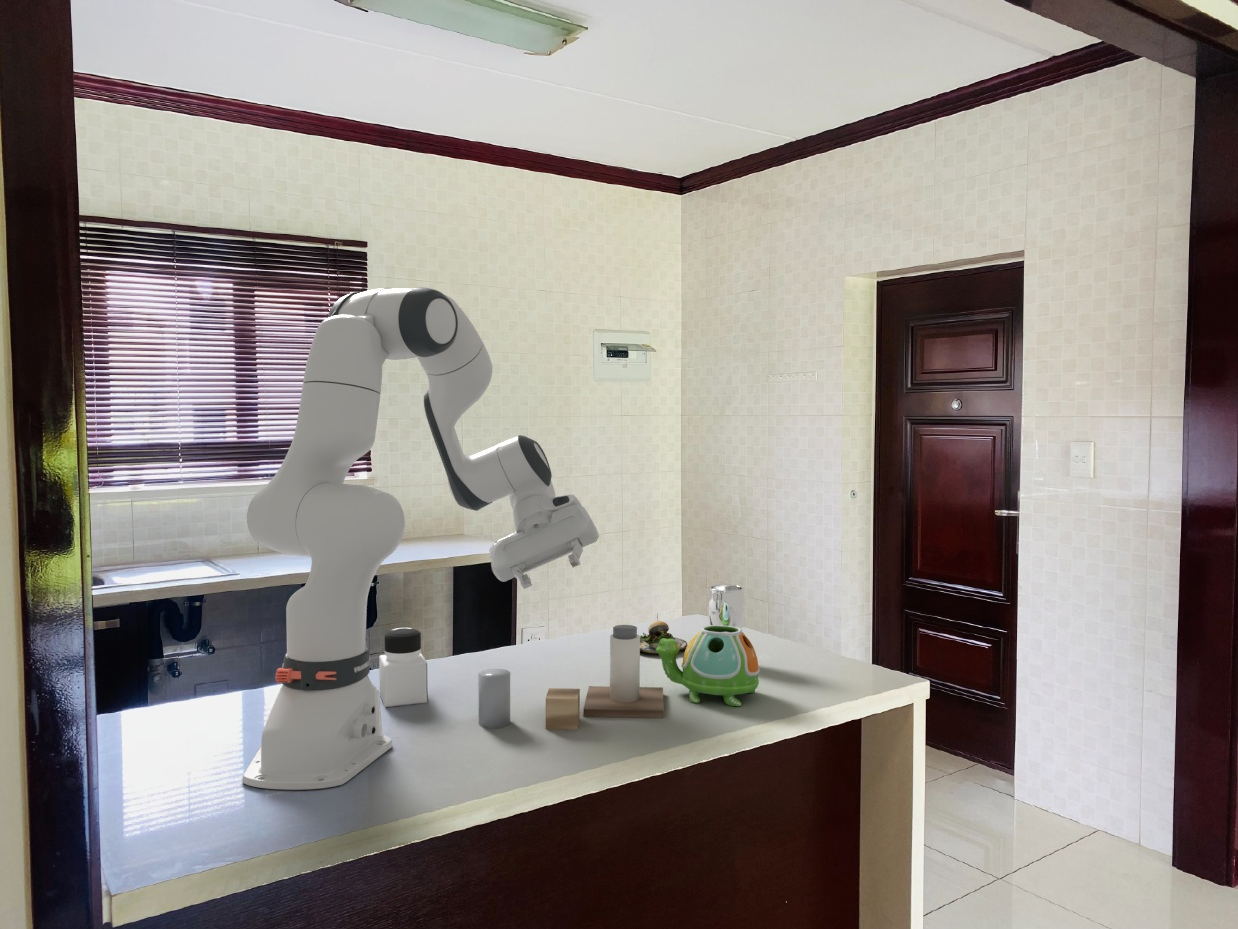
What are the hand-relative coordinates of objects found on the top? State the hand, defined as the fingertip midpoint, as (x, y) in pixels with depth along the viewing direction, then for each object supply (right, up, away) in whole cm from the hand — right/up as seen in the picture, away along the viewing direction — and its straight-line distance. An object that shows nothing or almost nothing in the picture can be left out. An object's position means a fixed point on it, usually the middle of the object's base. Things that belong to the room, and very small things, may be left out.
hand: (550, 574), depth 159 cm
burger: (+20, -19, +28) cm, 40 cm away
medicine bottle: (-25, -21, -4) cm, 33 cm away
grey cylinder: (-8, -22, -15) cm, 28 cm away
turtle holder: (+28, -21, -1) cm, 35 cm away
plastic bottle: (+13, -20, -6) cm, 25 cm away
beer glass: (+33, -20, +19) cm, 43 cm away
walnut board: (+13, -21, -6) cm, 26 cm away
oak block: (+3, -22, -16) cm, 27 cm away
